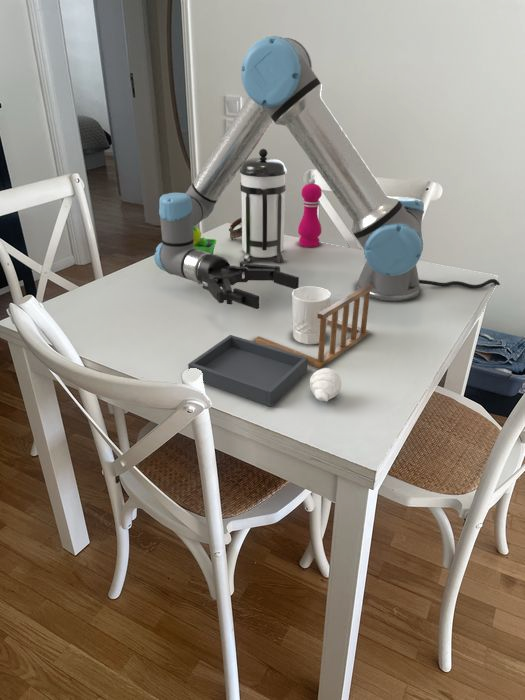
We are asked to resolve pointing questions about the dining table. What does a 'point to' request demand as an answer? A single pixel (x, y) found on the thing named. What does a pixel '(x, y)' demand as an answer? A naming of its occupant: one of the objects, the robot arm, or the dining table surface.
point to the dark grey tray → (250, 369)
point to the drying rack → (335, 328)
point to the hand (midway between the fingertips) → (278, 292)
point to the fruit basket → (203, 242)
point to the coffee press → (263, 207)
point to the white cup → (308, 312)
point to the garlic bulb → (325, 384)
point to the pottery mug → (236, 232)
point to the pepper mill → (310, 215)
